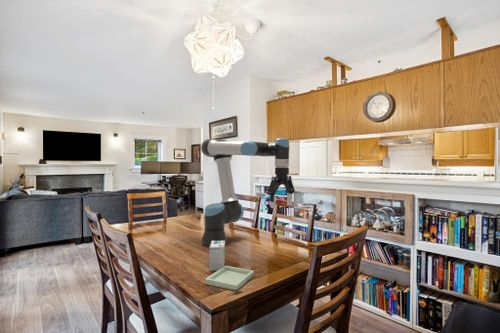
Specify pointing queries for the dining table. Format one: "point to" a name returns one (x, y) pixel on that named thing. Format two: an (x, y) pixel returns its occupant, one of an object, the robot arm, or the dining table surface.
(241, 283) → the tray
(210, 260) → the light bulb box
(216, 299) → the dining table surface
